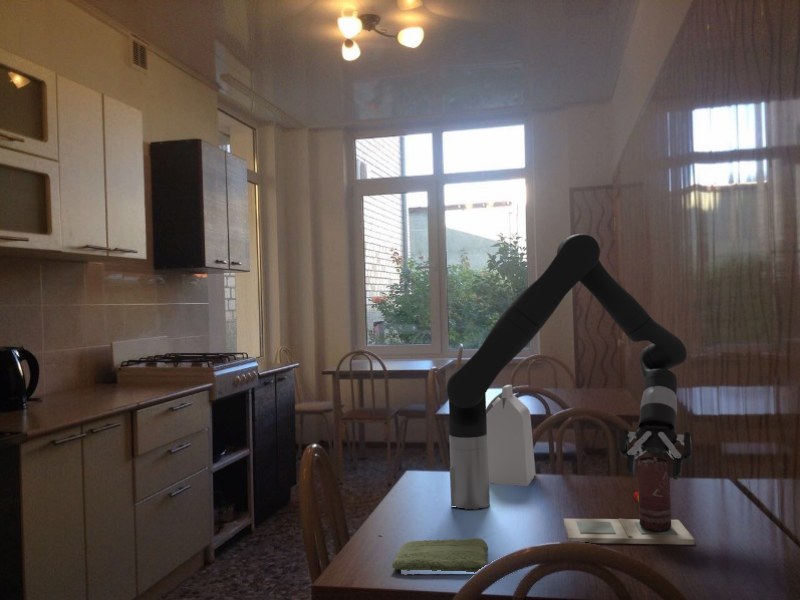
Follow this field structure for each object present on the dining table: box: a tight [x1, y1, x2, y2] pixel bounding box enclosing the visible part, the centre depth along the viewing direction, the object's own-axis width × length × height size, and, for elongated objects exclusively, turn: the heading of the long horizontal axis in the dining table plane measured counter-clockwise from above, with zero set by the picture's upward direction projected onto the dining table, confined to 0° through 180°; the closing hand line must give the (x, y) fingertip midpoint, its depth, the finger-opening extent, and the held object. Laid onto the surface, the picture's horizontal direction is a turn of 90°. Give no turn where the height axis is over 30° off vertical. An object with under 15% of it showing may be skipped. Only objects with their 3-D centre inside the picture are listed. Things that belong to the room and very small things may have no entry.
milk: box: [486, 384, 537, 487], centre depth 182 cm, size 12×12×26 cm
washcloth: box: [391, 537, 489, 573], centre depth 124 cm, size 13×18×3 cm
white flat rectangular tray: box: [563, 518, 696, 545], centre depth 135 cm, size 24×12×1 cm, turn 81°
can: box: [637, 456, 672, 532], centre depth 135 cm, size 6×6×14 cm
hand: (653, 475), depth 134 cm, fingers open, 8 cm apart
